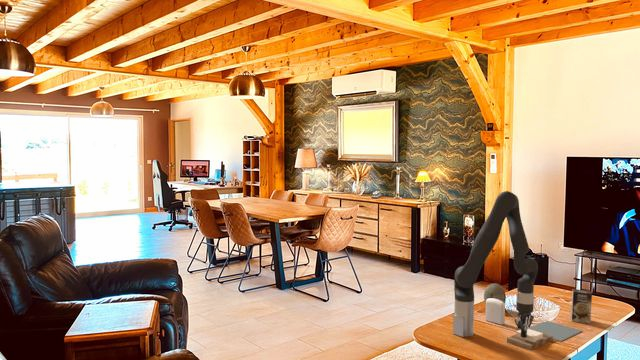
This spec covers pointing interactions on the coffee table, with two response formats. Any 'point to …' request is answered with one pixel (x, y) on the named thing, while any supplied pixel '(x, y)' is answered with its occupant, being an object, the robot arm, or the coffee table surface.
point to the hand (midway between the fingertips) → (523, 337)
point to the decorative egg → (494, 292)
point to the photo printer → (495, 311)
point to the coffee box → (581, 306)
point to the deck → (529, 344)
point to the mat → (555, 330)
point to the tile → (530, 335)
